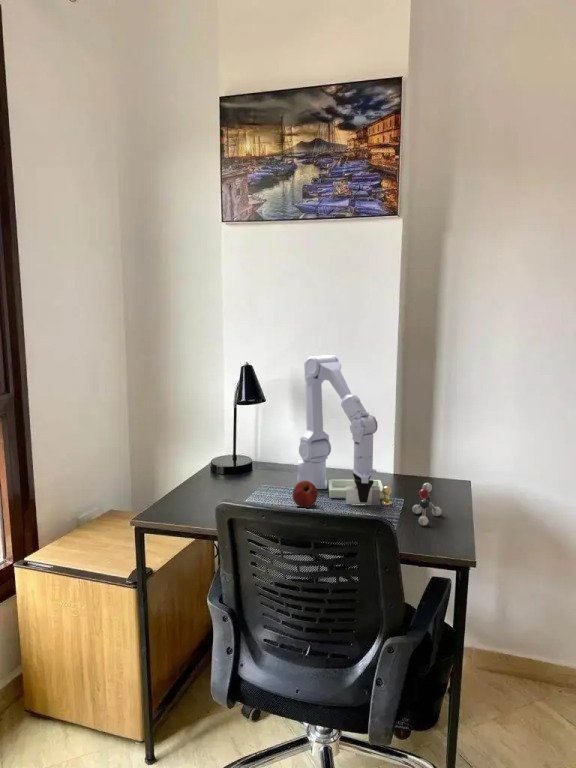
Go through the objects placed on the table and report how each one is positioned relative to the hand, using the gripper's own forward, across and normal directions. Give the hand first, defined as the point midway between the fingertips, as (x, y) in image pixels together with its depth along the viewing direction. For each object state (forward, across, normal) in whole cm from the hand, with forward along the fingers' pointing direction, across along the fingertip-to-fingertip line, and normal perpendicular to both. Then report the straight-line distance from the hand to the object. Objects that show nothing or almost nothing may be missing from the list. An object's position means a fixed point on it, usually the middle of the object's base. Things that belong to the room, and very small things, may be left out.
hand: (362, 499), depth 179 cm
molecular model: (+2, -13, -16) cm, 21 cm away
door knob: (+1, 0, -7) cm, 7 cm away
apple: (+2, -3, +18) cm, 18 cm away
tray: (+1, +10, +2) cm, 10 cm away
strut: (+1, 0, 0) cm, 1 cm away
